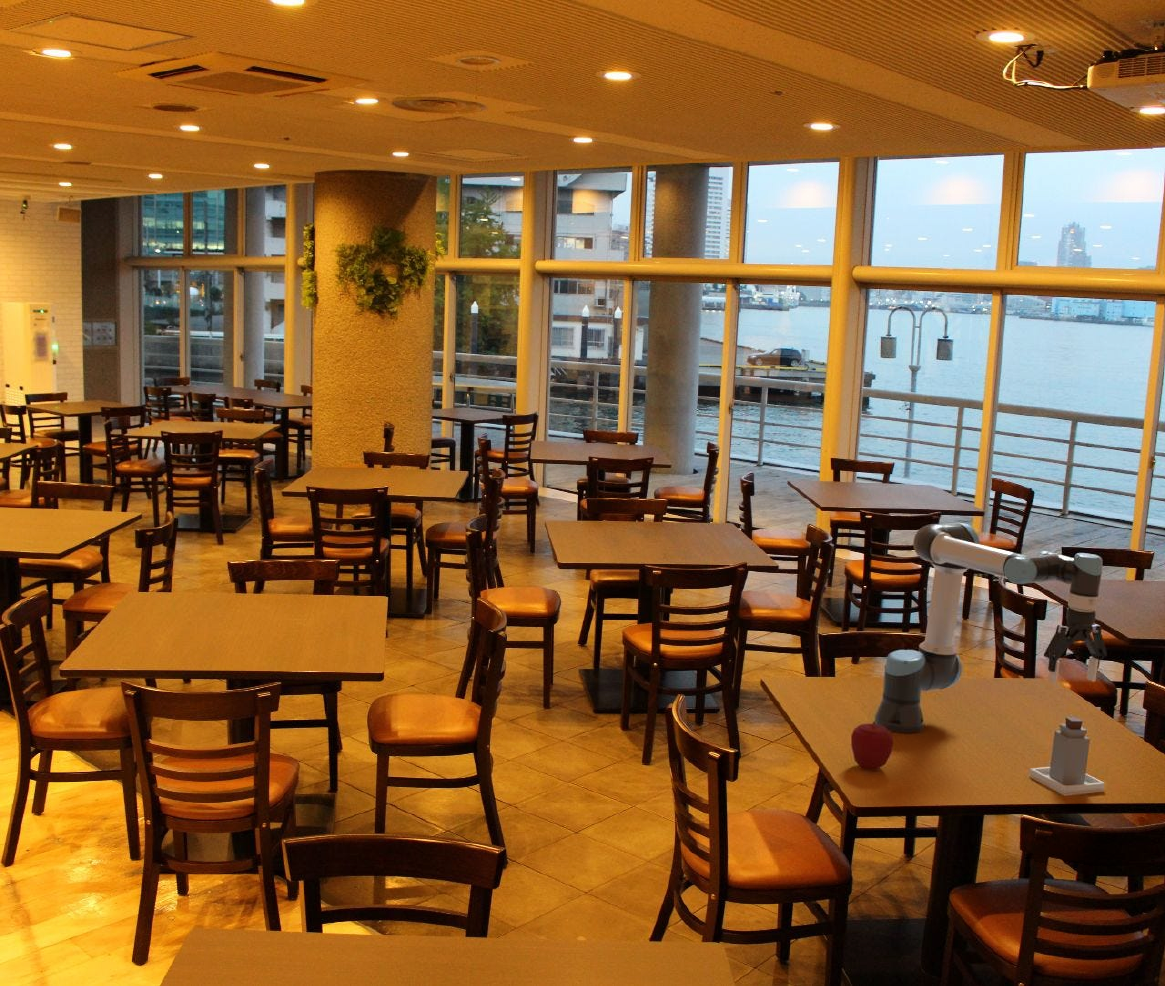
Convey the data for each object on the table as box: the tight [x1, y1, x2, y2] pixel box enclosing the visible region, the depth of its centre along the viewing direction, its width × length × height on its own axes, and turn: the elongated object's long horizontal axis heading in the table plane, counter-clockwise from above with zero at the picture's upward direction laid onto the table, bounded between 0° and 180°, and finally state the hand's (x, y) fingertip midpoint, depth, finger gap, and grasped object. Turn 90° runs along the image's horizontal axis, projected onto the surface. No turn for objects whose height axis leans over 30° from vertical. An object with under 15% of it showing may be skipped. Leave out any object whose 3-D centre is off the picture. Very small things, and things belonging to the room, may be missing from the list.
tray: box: [1029, 766, 1106, 796], centre depth 349 cm, size 14×14×2 cm
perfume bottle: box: [1049, 716, 1091, 785], centre depth 348 cm, size 7×7×18 cm
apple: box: [850, 722, 894, 771], centre depth 351 cm, size 12×12×13 cm
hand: (1071, 681), depth 351 cm, fingers open, 13 cm apart
